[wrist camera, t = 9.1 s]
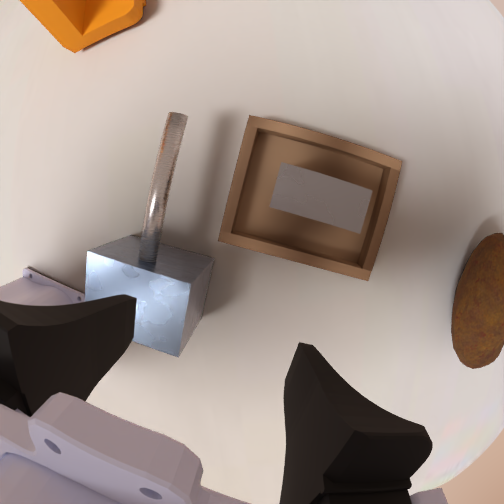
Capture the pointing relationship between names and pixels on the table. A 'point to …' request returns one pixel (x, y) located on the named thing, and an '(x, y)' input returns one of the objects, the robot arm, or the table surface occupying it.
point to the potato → (480, 305)
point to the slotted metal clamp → (320, 197)
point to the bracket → (84, 19)
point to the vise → (155, 264)
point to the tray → (298, 227)
